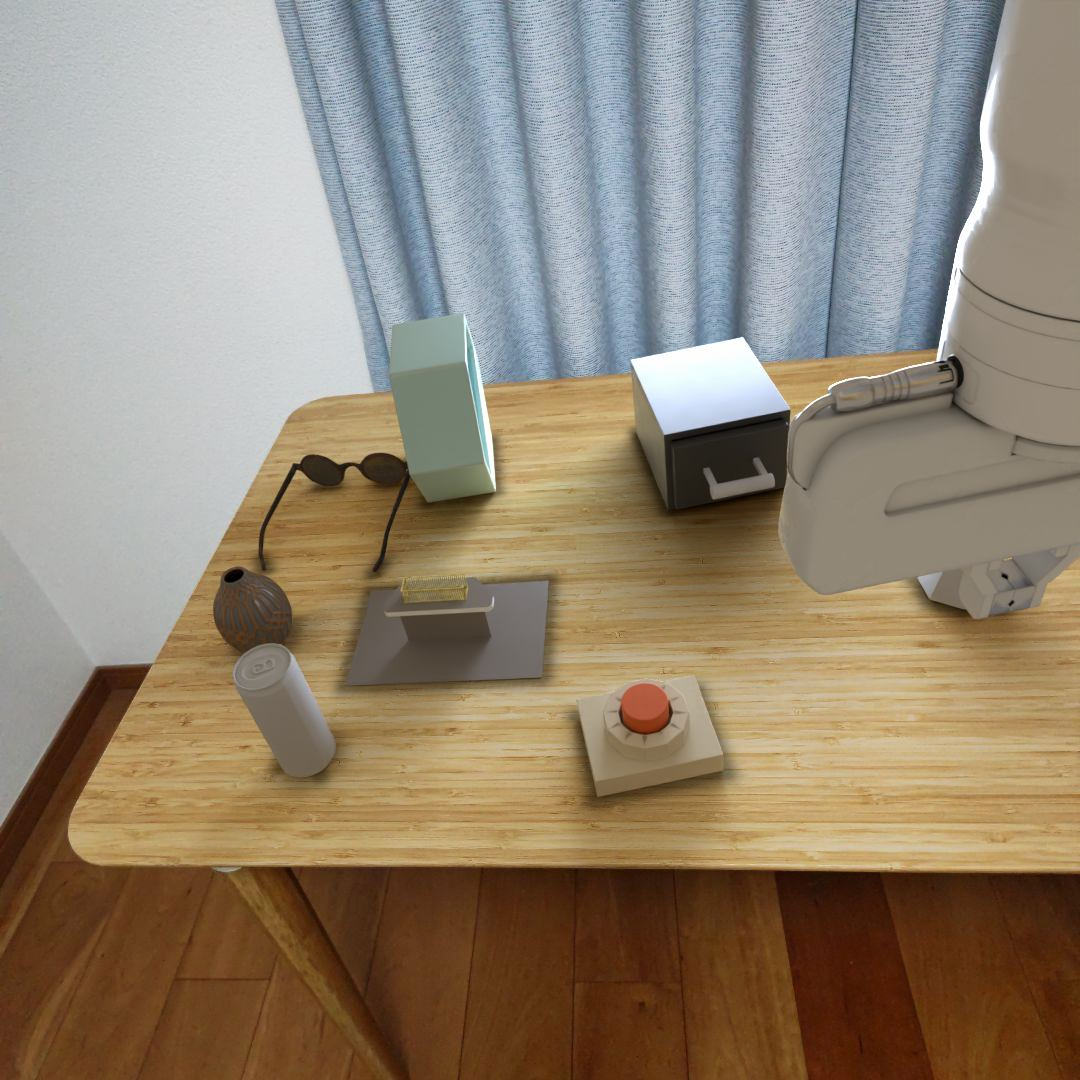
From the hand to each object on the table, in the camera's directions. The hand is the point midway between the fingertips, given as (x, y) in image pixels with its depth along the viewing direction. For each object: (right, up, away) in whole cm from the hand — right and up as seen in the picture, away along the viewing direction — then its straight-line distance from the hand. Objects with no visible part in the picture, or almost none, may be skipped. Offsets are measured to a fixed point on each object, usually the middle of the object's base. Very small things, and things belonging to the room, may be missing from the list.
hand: (996, 603), depth 41 cm
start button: (-13, -11, +29) cm, 33 cm away
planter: (-30, +10, +62) cm, 69 cm away
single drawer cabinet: (-3, +12, +57) cm, 59 cm away
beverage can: (-40, -16, +35) cm, 56 cm away
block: (-12, -13, +31) cm, 36 cm away
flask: (+17, -1, +40) cm, 43 cm away
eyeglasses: (-43, +4, +58) cm, 72 cm away
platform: (-29, -6, +44) cm, 53 cm away
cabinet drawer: (-2, +10, +54) cm, 55 cm away
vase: (-48, -7, +46) cm, 67 cm away
